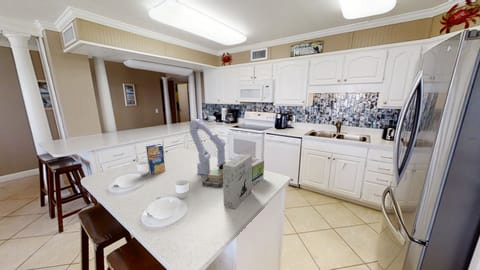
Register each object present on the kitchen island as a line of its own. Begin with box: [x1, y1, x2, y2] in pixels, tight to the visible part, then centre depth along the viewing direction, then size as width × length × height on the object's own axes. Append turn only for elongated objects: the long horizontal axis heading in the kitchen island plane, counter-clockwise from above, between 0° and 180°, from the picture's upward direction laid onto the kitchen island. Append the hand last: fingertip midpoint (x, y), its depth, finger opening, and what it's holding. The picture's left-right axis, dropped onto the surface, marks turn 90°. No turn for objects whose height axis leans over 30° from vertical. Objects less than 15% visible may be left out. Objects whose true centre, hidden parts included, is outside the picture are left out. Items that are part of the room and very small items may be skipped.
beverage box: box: [146, 143, 166, 175], centre depth 145 cm, size 7×11×22 cm, turn 129°
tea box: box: [252, 157, 265, 187], centre depth 130 cm, size 15×10×15 cm, turn 143°
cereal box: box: [222, 153, 253, 210], centre depth 106 cm, size 22×8×25 cm, turn 151°
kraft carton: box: [208, 167, 223, 183], centre depth 136 cm, size 8×12×5 cm, turn 167°
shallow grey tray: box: [201, 175, 223, 189], centre depth 130 cm, size 13×15×2 cm
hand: (221, 172), depth 143 cm, fingers closed
